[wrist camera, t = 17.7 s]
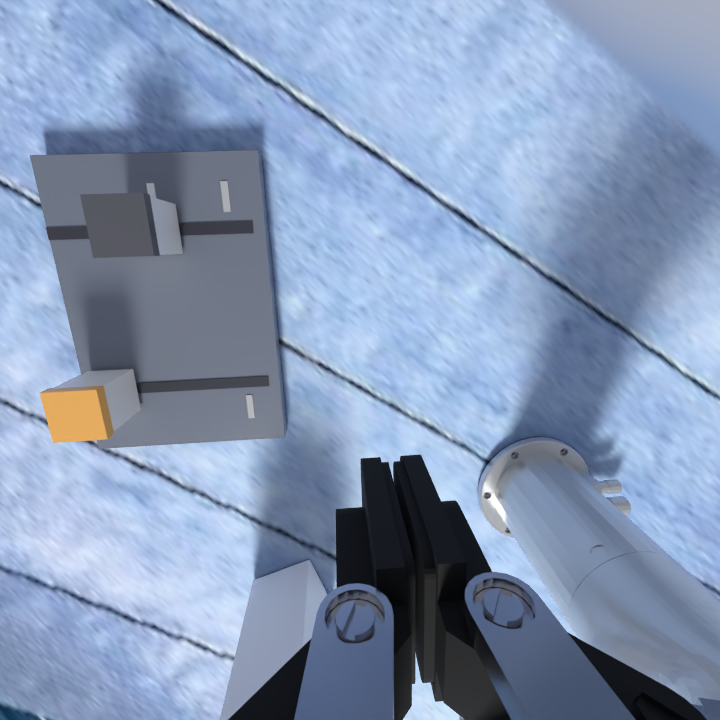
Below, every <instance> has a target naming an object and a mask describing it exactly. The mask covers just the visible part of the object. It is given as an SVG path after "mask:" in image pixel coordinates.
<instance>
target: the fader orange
mask: <svg viewBox="0 0 720 720" xmlns="http://www.w3.org/2000/svg"><path fill="white" fill-rule="evenodd" d="M40 396H41V399H42V403H43V407H44V411H45V414H46V418H47V422H48V425H49V429H50V433H51V437H52V440H53V443H55V442H72V441H88V440H105V439H109V438H110V437H111V436H112V435H113V434H114V431H115V430H117V429H118V428H119V427H120V426H121V425H123V424H124V423H125V422H126V421H128V420H129V419H130V418H131V417H132V416H134V415H135V414H136V413H137V412H138V411H140V410H141V407H140V402H139V397H138V392H137V387H136V381H135V376H134V371H133V369H121V370H102V371H87V372H85V373H83V374H81V375H79V376H77V377H75V378H73V379H71V380H69V381H67V382H65V383H63V384H61V385H59V386H57V387H55V388H50V389H47V390H45V391H43V392H41V393H40Z"/></svg>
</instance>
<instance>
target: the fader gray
mask: <svg viewBox="0 0 720 720" xmlns="http://www.w3.org/2000/svg"><path fill="white" fill-rule="evenodd" d="M80 198H81V202H82V207H83V212H84V217H85V221H86V226H87V231H88V236H89V240H90V245H91V250H92V255H93V258H111V257H138V256H160V255H164V254H183V251H182V244H181V237H180V231H179V224H178V217H177V211H176V204H174V203H170V202H167V201H163V200H160V199H157V198H153V197H150V194H146V193H111V194H80Z"/></svg>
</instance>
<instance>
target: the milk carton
mask: <svg viewBox="0 0 720 720" xmlns="http://www.w3.org/2000/svg"><path fill="white" fill-rule="evenodd" d="M326 596H327V592H326V590H325V588H324V586H323V584H322V582H321V580H320V578H319V577H318V575H317V573H316V571H315V569H314V567H313V565H312V563H311V561H310V560H307V561H304V562H301V563H298V564H296V565H293V566H290V567H288V568H285V569H282V570H279V571H277V572H274V573H271V574H269V575H266V576H263V577H261V578H258V579H255V580H254V581H253V584H252V588H251V593H250V597H249V601H248V605H247V609H246V613H245V617H244V622H243V626H242V630H241V634H240V638H239V642H238V646H237V650H236V655H235V659H234V663H233V667H232V671H231V675H230V679H229V684H228V688H227V692H226V696H225V700H224V704H223V708H222V713H221V717H220V720H228V719H229V718H230V717H231V716H232V715H233V714H234V713H235V712H236V711H237V710H238V709H239V708H240V707H241V706H242V705H244V704H245V703H246V702H247V701H248V700H249V699H250V698H251V697H252V696H253V695H254V694H255V693H256V692H257V691H258V690H259V689H260V688H261V687H262V686H263V685H264V684H265V683H266V682H267V681H268V680H269V679H270V678H271V677H272V676H273V675H274V674H275V673H276V672H277V671H278V670H279V669H280V668H281V667H282V666H283V665H284V664H285V663H286V662H288V661H289V660H290V659H291V658H292V657H293V656H294V655H295V654H296V653H297V652H298V651H299V650H300V649H301V648H302V647H303V646H304V645H305V644H306V643H307V642H308V641H309V640H310V639H311V638H312V633H313V628H314V624H315V619H316V614H317V611H318V609H319V606H320V603H321V602H322V601H323V599H324V598H325V597H326Z"/></svg>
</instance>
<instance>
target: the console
mask: <svg viewBox="0 0 720 720" xmlns="http://www.w3.org/2000/svg"><path fill="white" fill-rule="evenodd" d="M30 158H31V162H32V167H33V171H34V175H35V179H36V184H37V188H38V192H39V196H40V201H41V205H42V209H43V213H44V218H45V222H46V226H47V228H46V230H47V234H48V238H49V240H50V243H51V247H52V252H53V256H54V260H55V264H56V268H57V273H58V277H59V281H60V285H61V290H62V294H63V298H64V302H65V307H66V311H67V315H68V319H69V324H70V328H71V332H72V336H73V341H74V345H75V349H76V353H77V358H78V362H79V366H80V370H81V374H83V373H85V372H87V371H102V370H121V369H133V371H134V376H135V381H136V387H137V392H138V397H139V402H140V407H141V410H140V411H138V412H137V413H136V414H135V415H134V416H132V417H131V418H130V419H129V420H128V421H126V422H125V423H124V424H123V425H121V426H120V427H119V428H118V429H117V430H115V431H114V434H113V435H112V436H111V437H110V438H109V439H105V440H97V442H98V447H99V449H103V448H119V447H135V446H151V445H168V444H184V443H200V442H216V441H232V440H248V439H265V438H281V437H285V434H286V430H287V423H286V413H285V402H284V391H283V380H282V369H281V359H280V348H279V337H278V326H277V316H276V305H275V294H274V283H273V273H272V262H271V251H270V240H269V229H268V219H267V208H266V197H265V186H264V176H263V165H262V156H261V154H260V153H259V152H258V150H242V151H199V152H155V153H111V154H67V155H30ZM111 193H146V194H150V197H153V198H157V199H160V200H163V201H167V202H170V203H174V204H176V211H177V217H178V224H179V231H180V237H181V244H182V251H183V254H164V255H160V256H138V257H111V258H93V255H92V250H91V245H90V240H89V236H88V231H87V226H86V221H85V217H84V212H83V207H82V202H81V198H80V194H111Z"/></svg>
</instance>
